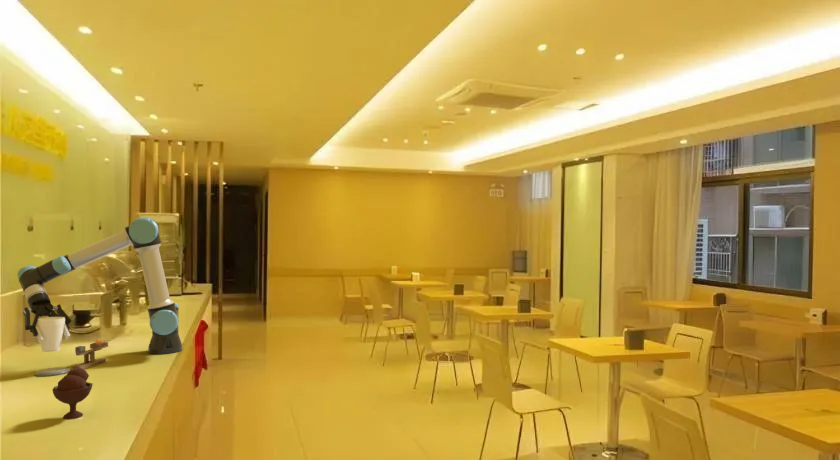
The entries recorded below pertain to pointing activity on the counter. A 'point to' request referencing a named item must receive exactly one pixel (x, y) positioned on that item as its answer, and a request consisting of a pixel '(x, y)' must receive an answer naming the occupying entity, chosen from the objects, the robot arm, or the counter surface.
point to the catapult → (93, 347)
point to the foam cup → (51, 333)
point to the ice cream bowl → (73, 390)
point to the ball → (99, 341)
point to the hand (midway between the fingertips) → (55, 339)
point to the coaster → (52, 371)
